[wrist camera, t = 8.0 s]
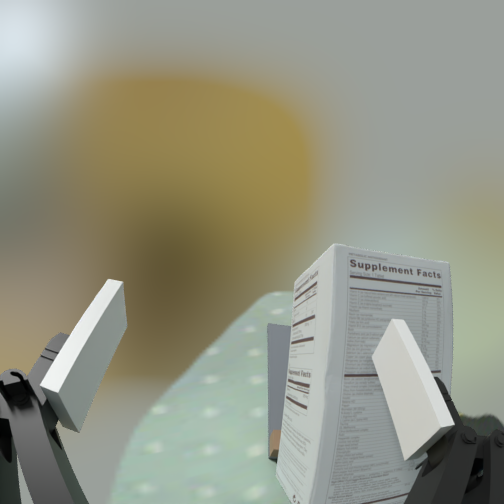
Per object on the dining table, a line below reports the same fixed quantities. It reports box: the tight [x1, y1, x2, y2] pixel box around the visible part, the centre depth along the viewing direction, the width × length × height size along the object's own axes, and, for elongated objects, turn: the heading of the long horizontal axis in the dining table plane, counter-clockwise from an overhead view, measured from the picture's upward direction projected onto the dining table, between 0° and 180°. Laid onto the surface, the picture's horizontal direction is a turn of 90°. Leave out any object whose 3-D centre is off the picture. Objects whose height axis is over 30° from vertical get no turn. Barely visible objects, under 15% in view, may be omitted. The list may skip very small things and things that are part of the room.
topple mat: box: [267, 323, 291, 459], centre depth 30 cm, size 18×16×2 cm
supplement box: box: [275, 244, 453, 504], centre depth 19 cm, size 10×9×17 cm
